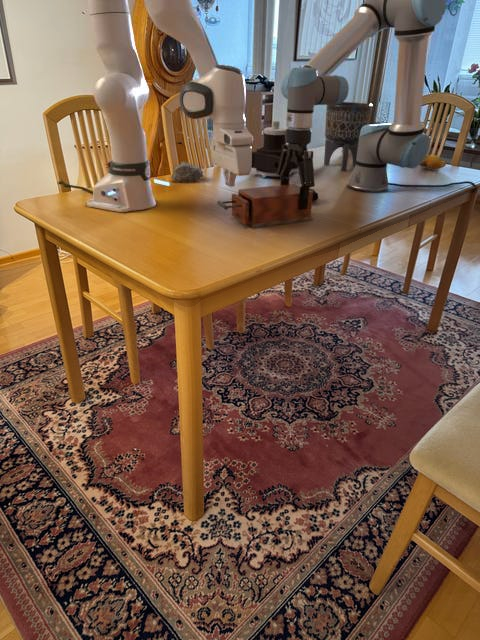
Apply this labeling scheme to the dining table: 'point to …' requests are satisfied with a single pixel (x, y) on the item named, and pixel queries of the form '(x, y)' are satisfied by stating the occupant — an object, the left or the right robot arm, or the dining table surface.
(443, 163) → the toy
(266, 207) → the cabinet
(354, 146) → the planter
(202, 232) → the dining table surface
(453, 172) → the dining table surface
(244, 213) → the drawer
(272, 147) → the mechanical component
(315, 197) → the tape measure
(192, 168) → the rock
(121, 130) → the left robot arm
